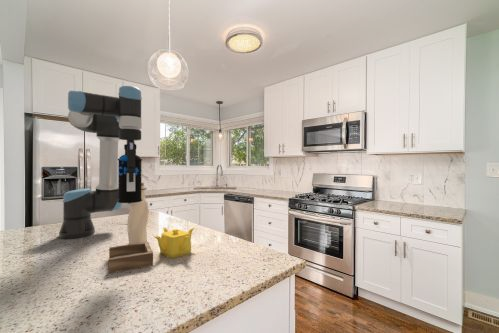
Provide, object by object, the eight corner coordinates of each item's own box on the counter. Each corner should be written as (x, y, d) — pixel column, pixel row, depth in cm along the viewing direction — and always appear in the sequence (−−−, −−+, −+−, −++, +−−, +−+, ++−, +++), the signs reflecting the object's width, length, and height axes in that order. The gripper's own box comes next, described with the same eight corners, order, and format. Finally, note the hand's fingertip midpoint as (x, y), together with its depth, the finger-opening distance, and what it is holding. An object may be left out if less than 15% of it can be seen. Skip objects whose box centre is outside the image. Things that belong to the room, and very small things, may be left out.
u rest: (109, 259, 94) (109, 247, 94) (148, 252, 101) (148, 241, 101) (108, 273, 82) (108, 259, 82) (153, 265, 88) (153, 252, 88)
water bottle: (138, 247, 106) (138, 184, 106) (120, 246, 108) (120, 183, 108) (152, 240, 116) (152, 182, 116) (136, 239, 118) (136, 182, 118)
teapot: (163, 246, 108) (163, 225, 108) (195, 246, 109) (195, 225, 109) (151, 259, 93) (151, 234, 93) (189, 259, 94) (189, 234, 94)
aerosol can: (123, 199, 95) (123, 148, 94) (145, 199, 95) (145, 148, 95) (113, 203, 86) (113, 147, 86) (137, 203, 87) (137, 147, 87)
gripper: (118, 131, 98) (118, 187, 98) (119, 124, 80) (119, 193, 80) (138, 132, 102) (138, 187, 102) (144, 126, 83) (144, 192, 84)
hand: (130, 189), depth 91 cm, fingers closed on aerosol can, 8 cm apart
